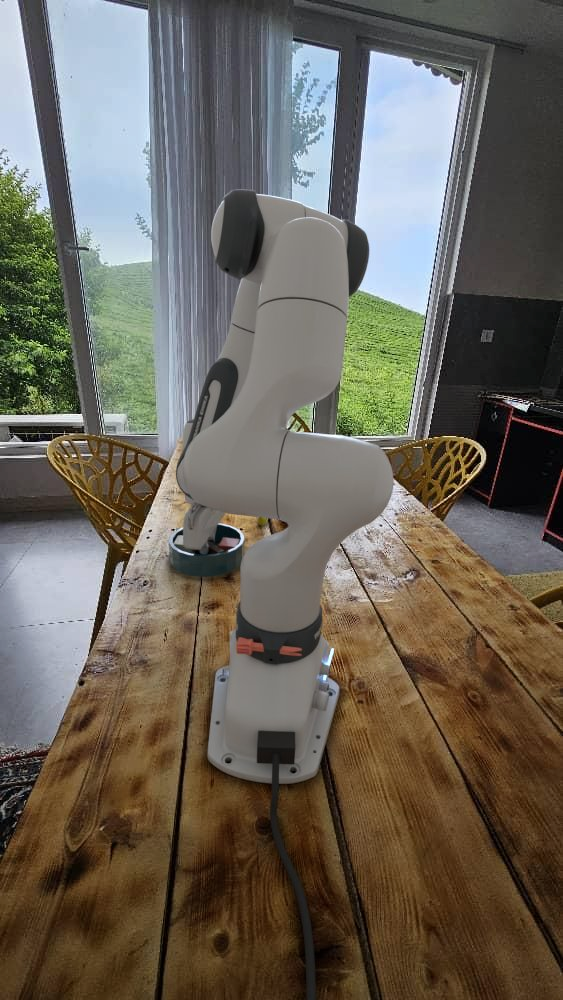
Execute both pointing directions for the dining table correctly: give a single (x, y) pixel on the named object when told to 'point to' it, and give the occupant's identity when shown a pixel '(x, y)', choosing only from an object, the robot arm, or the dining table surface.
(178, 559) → the bowl
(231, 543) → the terracotta block
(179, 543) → the cream block
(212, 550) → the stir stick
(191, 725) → the dining table surface
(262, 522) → the fruit
